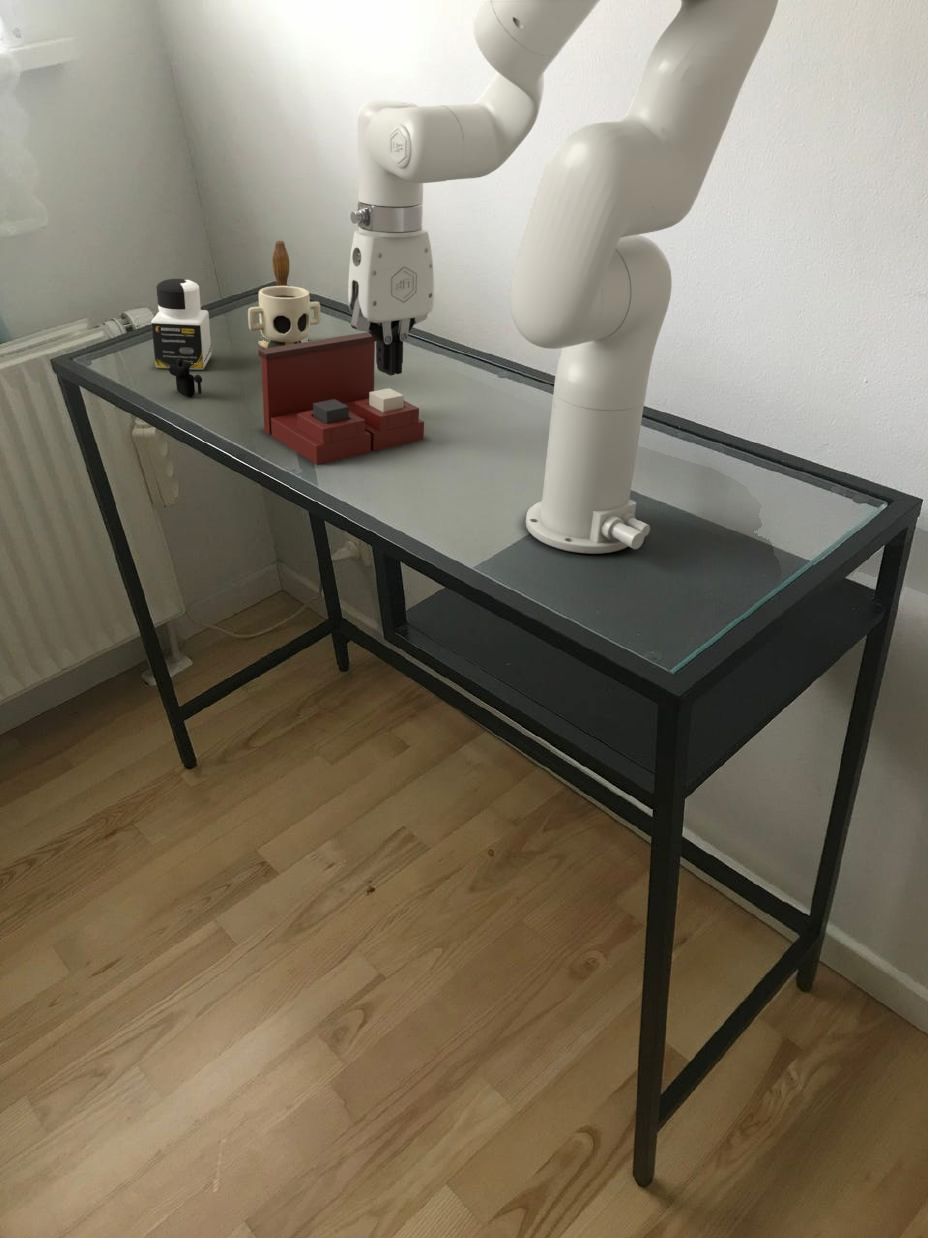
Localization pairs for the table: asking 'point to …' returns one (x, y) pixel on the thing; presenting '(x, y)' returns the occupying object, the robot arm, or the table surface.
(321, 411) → the ebony key
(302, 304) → the character mug
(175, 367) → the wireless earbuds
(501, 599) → the table surface
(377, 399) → the ivory key
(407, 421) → the red white-inset block
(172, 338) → the medicine bottle
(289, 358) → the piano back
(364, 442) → the red grey-inset block
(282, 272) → the hand bell
